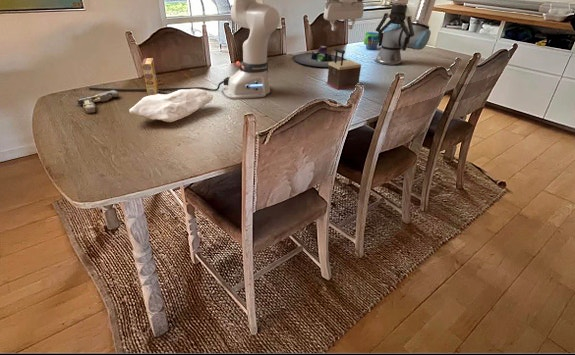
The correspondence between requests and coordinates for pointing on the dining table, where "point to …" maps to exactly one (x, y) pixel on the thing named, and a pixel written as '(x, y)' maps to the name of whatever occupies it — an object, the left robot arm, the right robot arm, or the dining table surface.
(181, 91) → the crumpled cloth
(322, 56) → the dark round tray
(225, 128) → the dining table surface
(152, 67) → the candy box
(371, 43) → the snack cup
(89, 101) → the handgun
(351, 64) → the lid
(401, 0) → the right robot arm
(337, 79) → the chest
